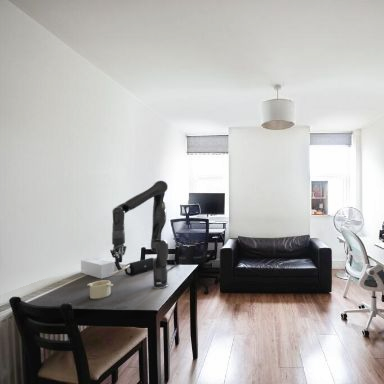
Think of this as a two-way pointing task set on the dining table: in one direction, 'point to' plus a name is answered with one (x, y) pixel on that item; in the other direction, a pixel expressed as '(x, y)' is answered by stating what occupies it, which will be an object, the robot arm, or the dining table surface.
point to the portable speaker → (139, 266)
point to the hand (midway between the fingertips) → (118, 262)
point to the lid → (119, 268)
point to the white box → (97, 267)
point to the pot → (100, 289)
